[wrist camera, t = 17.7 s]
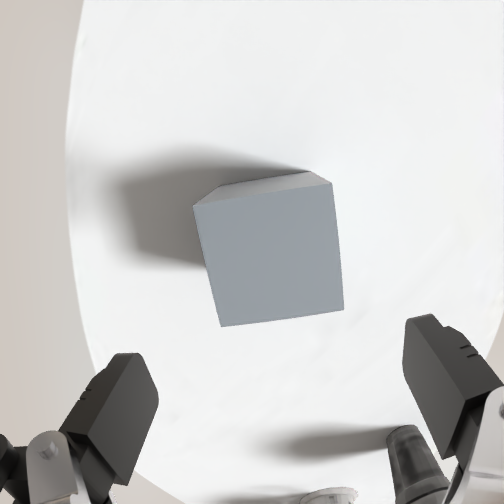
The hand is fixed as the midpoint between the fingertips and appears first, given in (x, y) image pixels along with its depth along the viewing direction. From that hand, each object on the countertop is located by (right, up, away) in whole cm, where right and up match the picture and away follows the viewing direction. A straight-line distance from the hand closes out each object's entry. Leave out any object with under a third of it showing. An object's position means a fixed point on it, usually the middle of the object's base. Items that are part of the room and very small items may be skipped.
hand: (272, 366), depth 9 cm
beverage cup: (+19, -21, +25) cm, 37 cm away
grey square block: (+1, +6, +17) cm, 18 cm away
